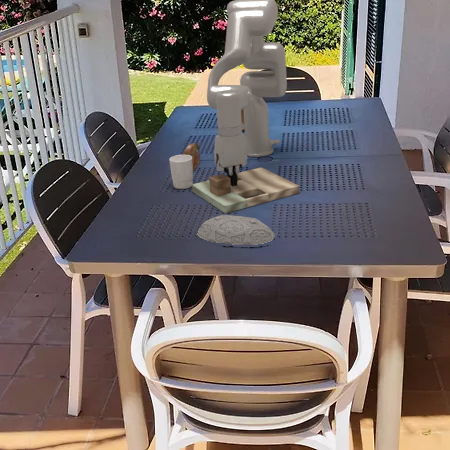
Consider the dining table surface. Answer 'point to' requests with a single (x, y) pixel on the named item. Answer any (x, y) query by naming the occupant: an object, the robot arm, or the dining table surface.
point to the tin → (193, 154)
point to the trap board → (248, 190)
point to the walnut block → (220, 185)
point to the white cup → (181, 171)
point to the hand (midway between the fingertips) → (232, 184)
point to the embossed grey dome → (235, 230)
